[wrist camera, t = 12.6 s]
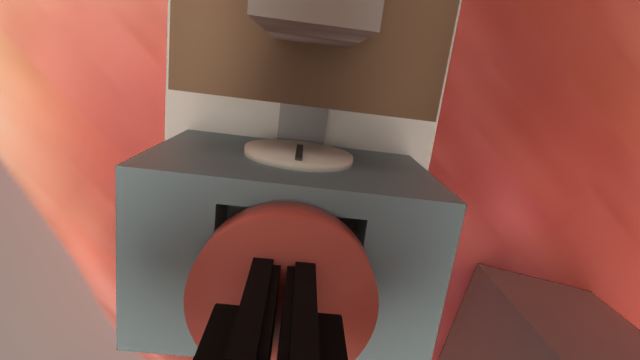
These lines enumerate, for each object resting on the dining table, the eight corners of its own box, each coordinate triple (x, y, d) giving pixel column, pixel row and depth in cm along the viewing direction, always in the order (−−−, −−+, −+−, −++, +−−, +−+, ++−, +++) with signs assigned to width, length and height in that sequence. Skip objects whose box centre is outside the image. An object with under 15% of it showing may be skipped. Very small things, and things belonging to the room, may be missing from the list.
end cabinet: (411, 146, 18) (469, 191, 12) (387, 273, 20) (427, 377, 13) (188, 120, 18) (115, 151, 11) (183, 253, 20) (116, 350, 13)
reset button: (375, 193, 13) (394, 227, 10) (352, 330, 15) (363, 395, 12) (214, 175, 13) (187, 205, 10) (206, 317, 14) (180, 381, 11)
